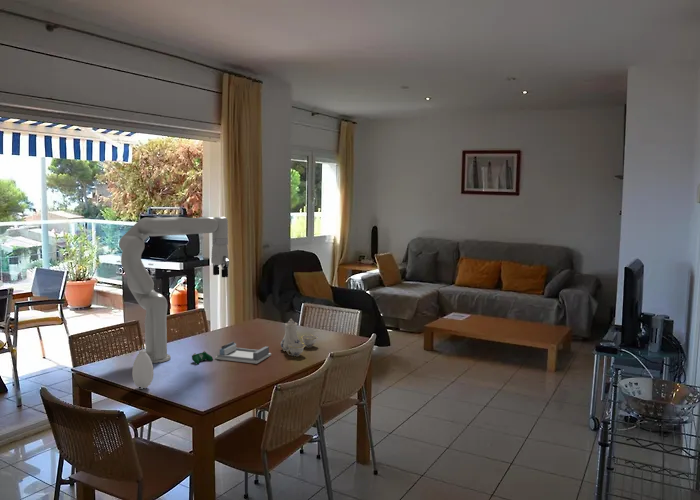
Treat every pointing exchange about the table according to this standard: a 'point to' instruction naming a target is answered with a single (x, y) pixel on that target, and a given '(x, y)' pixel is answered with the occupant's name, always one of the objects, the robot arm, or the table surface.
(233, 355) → the vise base
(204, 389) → the table surface
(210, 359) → the gaming controller
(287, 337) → the chinaware
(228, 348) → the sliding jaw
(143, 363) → the white tall teardrop piece
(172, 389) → the table surface
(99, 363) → the table surface
